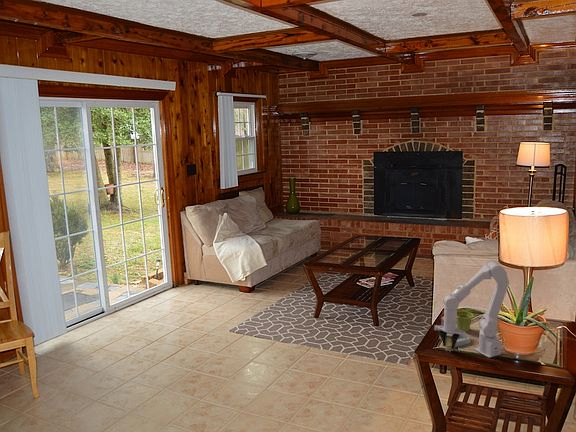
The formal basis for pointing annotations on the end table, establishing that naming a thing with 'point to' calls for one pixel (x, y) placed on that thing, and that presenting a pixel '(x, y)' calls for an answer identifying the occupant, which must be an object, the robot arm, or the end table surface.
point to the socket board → (460, 340)
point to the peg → (448, 343)
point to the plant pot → (464, 320)
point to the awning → (443, 321)
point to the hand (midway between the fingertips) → (449, 346)
